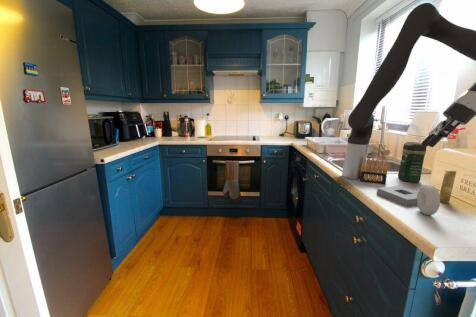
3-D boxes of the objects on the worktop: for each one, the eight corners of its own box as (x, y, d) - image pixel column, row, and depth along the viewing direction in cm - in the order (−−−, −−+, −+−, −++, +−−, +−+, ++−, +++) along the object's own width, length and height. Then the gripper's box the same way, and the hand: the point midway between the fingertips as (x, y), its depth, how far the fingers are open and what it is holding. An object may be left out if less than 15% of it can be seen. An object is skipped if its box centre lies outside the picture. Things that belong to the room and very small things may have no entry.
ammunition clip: (359, 181, 107) (362, 156, 104) (359, 180, 109) (362, 156, 106) (385, 184, 102) (389, 159, 100) (385, 183, 104) (389, 158, 101)
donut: (412, 206, 80) (418, 179, 77) (424, 208, 78) (430, 180, 76) (425, 219, 70) (431, 189, 68) (438, 221, 69) (445, 190, 67)
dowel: (436, 200, 85) (443, 169, 83) (441, 199, 86) (448, 169, 84) (445, 203, 83) (453, 172, 80) (451, 202, 84) (458, 171, 81)
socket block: (376, 194, 91) (377, 188, 90) (398, 191, 95) (399, 185, 94) (406, 206, 80) (407, 199, 79) (429, 202, 84) (431, 195, 83)
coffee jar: (422, 183, 104) (430, 144, 100) (402, 182, 107) (410, 143, 103) (413, 177, 114) (420, 141, 109) (395, 176, 116) (401, 140, 112)
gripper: (447, 104, 84) (412, 139, 90) (461, 98, 72) (420, 139, 78) (468, 115, 82) (431, 151, 87) (486, 111, 69) (442, 152, 75)
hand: (426, 145), depth 82 cm, fingers open, 8 cm apart
